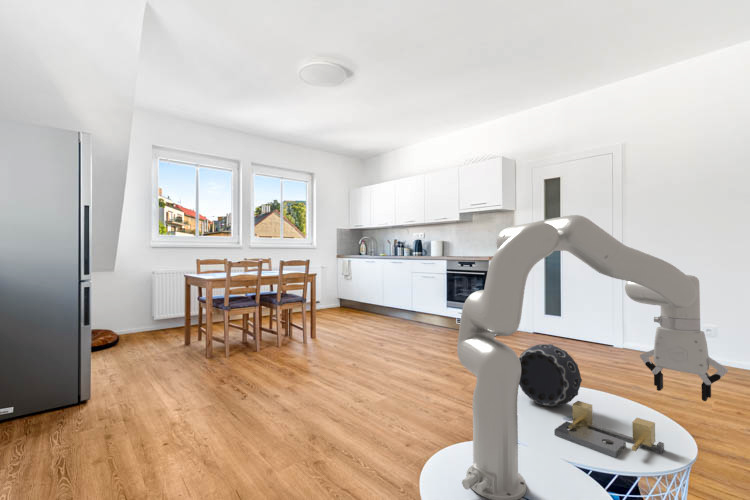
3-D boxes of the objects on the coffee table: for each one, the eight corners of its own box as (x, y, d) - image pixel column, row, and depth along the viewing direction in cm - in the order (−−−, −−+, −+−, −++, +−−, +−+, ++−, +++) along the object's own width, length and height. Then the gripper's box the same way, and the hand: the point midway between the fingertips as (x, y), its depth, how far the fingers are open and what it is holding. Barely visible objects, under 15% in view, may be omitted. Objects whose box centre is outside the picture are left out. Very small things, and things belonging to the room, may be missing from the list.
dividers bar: (653, 465, 86) (653, 439, 86) (562, 432, 102) (562, 410, 102) (664, 449, 93) (664, 425, 93) (578, 421, 109) (577, 400, 109)
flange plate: (615, 457, 89) (615, 451, 89) (554, 435, 101) (554, 429, 101) (626, 446, 94) (625, 440, 95) (566, 426, 106) (566, 421, 106)
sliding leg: (643, 456, 87) (643, 436, 88) (624, 450, 91) (624, 430, 91) (655, 441, 95) (654, 422, 95) (637, 435, 98) (636, 417, 98)
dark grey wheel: (528, 391, 133) (527, 337, 134) (585, 409, 117) (584, 348, 118) (512, 398, 127) (511, 342, 127) (570, 418, 111) (569, 354, 111)
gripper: (633, 321, 94) (635, 388, 93) (726, 331, 80) (728, 410, 80) (642, 317, 98) (643, 381, 98) (730, 327, 85) (732, 401, 85)
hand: (681, 394), depth 89 cm, fingers open, 8 cm apart
